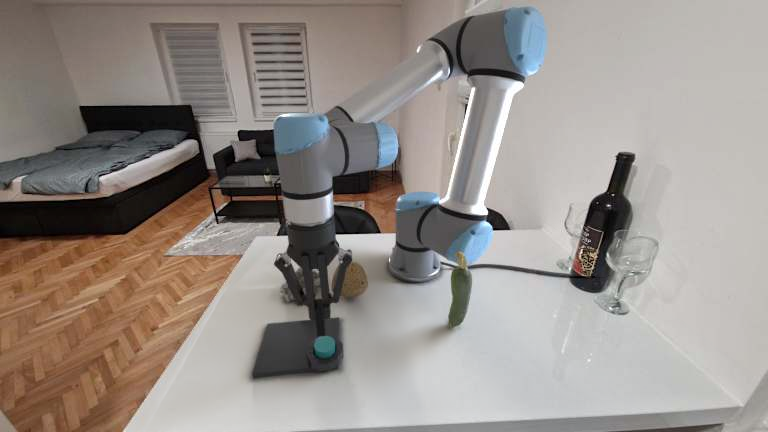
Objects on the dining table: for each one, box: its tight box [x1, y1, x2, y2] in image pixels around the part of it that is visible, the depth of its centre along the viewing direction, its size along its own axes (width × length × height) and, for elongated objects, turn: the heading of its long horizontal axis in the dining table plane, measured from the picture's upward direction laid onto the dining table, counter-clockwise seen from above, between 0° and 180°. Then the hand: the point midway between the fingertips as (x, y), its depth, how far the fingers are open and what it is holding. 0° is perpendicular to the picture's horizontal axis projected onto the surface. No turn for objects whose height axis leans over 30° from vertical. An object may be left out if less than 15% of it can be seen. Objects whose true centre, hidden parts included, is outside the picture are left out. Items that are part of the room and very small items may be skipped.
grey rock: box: [279, 266, 320, 303], centre depth 80 cm, size 11×8×4 cm
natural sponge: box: [330, 260, 369, 298], centre depth 76 cm, size 9×9×10 cm
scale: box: [251, 316, 344, 379], centre depth 63 cm, size 17×14×3 cm
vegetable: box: [447, 252, 473, 329], centre depth 64 cm, size 4×4×20 cm
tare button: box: [314, 336, 335, 359], centre depth 59 cm, size 4×4×2 cm
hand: (321, 330), depth 57 cm, fingers closed
